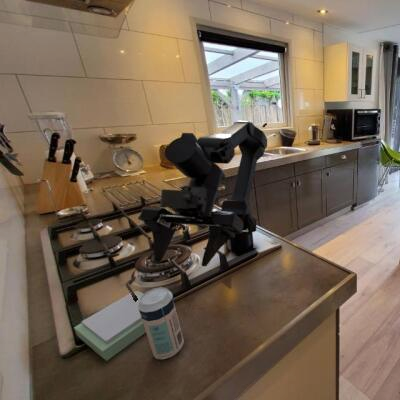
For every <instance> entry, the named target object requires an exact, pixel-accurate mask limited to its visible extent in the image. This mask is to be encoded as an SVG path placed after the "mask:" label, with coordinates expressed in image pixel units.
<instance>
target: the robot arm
mask: <svg viewBox="0 0 400 400" xmlns="http://www.w3.org/2000/svg"><path fill="white" fill-rule="evenodd" d="M237 147H238V148H239V151H240V154H241V157H240V161H239V165H238V169H237V174H236V178H235V181H234V186H233V190H232V194H231V197H230V198H229V199H224V200H223V202H222V204H221V209H220V211H219V210H217V211H215V212H214V213H213V211H214V210H213V209H214V206H215V204H219V200H220V199H219V198H218V197H217V195H218V192H219V188H220V186H221V185H220V184H221V181H225V180H226V174H225V173H224V170H223V168H222V167H220V166H219V165H218V164H223V165H225V164H227V165H228V164H230V163H231V162H232V160H233V158H234V157H235V156H236V152H235V149H236V148H237ZM267 147H268V138H267V135H266V134H265V132H264V131H263V130H262V129H260V128H258V127H257V126H255V125H254V123H253V122H252V121H249V120H236V121H234V122H233V124H231V125H230V126H229V127H227V128H225V129H224V130H222V131H221V132H219V133H217V134H212V135H211V134H209V135H205V136H200V137H198V138H197V136H196V135H195V133H193V132H182V133H181V136H180V137H177V138H175V139H173V140H171V142H169V144H168V145H166V146H165V148H164V157H165V159H166V160H167V161H168V162H169V163H170V164H172V165H173V166H174V167H175V168H176V169H177V170H178V171H179V172H180V173H181V174H182V175H183V176H185V177H186V178H189V182H188V186H185V185H184V186H183V187H181V189H179V190H178V189H164V188H163V189H161V194H160V195H161V196H160V202H159V207H157V206H146V207H145V208H142V210H141V212H140V215H139V217H138V220H140V221H143V224H144V225H145V226H147V227H149V229H150V231H151V233H152V239H153V256H154V257H153V259H154V260H153V261H154V263H161V261H162V259H163V258H164V257H165V255H166V252H167V250H168V248H169V246H170V243H171V242H172V239H173V238H174V235H175V233H176V230H174V228H175V227H176V226H177V225H190V226H193V225H194V226H203V227H204V226H206V227H208V235H209V236H208V239H207V242H206V246H205V249H204V252H203V256H202V261H201V266H202V267H207V265H209V264H210V262H211V261H212V260H213V258H214V257H215V256H216V254H217V253H218V252H219V251H220V249H221V248H222V247H223V246H224V245H225V244H226V243H227V248H228V251H230V252H231V253H233V254H234V256H236V257H238V256H240V255H244V254H246V253H248V252H252V251H253V250H256V249H257V245H255V244H254V234H253V233H255V232H257V225H258V224H257V219H256V218H255V217H254V216H253V211H252V207H251V206H250V203H249V201H250V196H251V191H252V187H253V181H254V177H255V173H256V168H257V162H258V161H259V160H260V159H261V158H262V157H263V156H264V154H265V151H266V149H267ZM167 207H169V208H170V207H171V211H170V210H168V209H166V208H167ZM172 211H173V212H177V213H173V212H172Z"/></svg>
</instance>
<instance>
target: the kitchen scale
mask: <svg viewBox="0 0 400 400" xmlns="http://www.w3.org/2000/svg"><path fill="white" fill-rule="evenodd" d="M133 292H134V293H135V295H136V296H137V298H138V300H137V301H136V302H135V301H134V300H133V297H132V295H131V293H132V292H130V293H128V294H127V295H125V296H123V297H121V298H119V299H118V300H115V302H113V303H110V304H109V305H107V306H106V307H104V308H102V309H100V310H99V311H97V312H95V313H94V314H92V315H89V316H88V317H87V318H85V319H83V320H82V321H81V322H80V323H79V324H77V325H76V326H74V327H73V329H74V331H75V333H76V336H77V337H78V338H79V339H80V340H81V341H82V342H84V344H86V346H87V347H89V348H90V349H92V350H93V351H94V352H95V353H96V354H98V355H99V356H100V357H101V358H102V359H104V360H105V362H108V361H109V360H111V358H113V357H115V356H116V355H117V354H119V353H120V352H121V351H122V350H124V349H125V348H127V347H128V346H129V345H131V344H132V343H134V342H135V341H136V340H137V339H139V338H140V337H142V336H143V335H145V334H147V333H146V330H145V327H144V324H143V321H142V318H141V315H140V312H139V309H138V304H139V301H140V298H141V297H142V296H143V295H144V294H145V293H143V292H141V291H139V290H136V291H133Z"/></svg>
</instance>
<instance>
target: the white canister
mask: <svg viewBox="0 0 400 400" xmlns="http://www.w3.org/2000/svg"><path fill="white" fill-rule="evenodd" d="M143 294H144V295H143V296H142V297H141V298H140V301H139V304H138V309H139V312H140V315H141V318H142V321H143V324H144V327H145V330H146V333H145V334H146V336H147V340H148V343H149V345H150V350H151V352H152V355H153V357H154V358H155V359H156V360H165V359H169V358H172V357H174V356H176V355H177V353H179V352H180V350H181V349H182V348H183V346H184V343H185V341H184V337H183V334H182V329H181V325H180V321H179V316H178V313H177V310H176V306H175V305H176V304H175V301H174V296H173V292H171V291H170V290H169V289H168V288H166V287H163V286H162V287H160V286H159V287H154V288H152V289H150V290H147V291H146V292H144V293H143Z"/></svg>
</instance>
